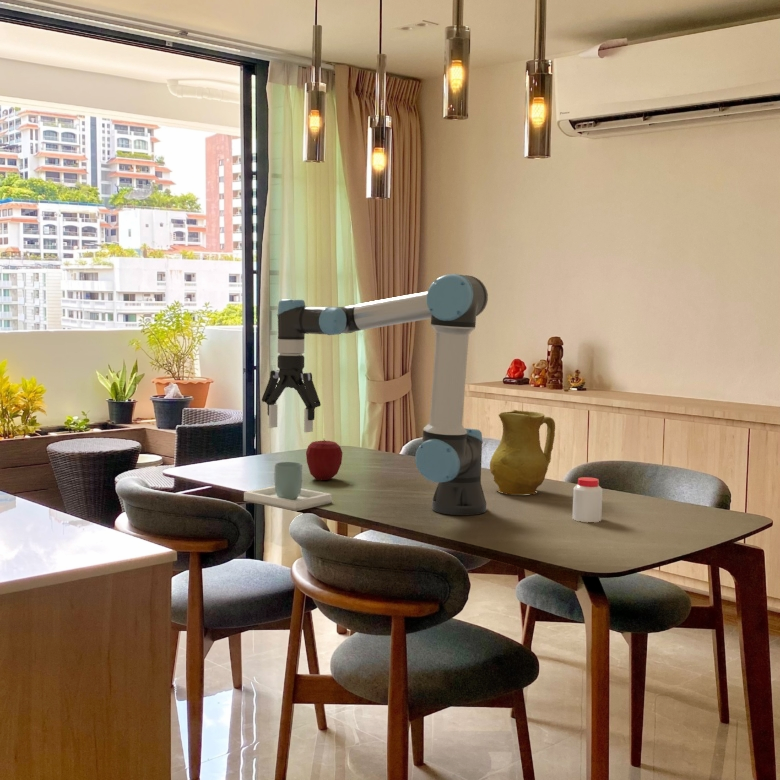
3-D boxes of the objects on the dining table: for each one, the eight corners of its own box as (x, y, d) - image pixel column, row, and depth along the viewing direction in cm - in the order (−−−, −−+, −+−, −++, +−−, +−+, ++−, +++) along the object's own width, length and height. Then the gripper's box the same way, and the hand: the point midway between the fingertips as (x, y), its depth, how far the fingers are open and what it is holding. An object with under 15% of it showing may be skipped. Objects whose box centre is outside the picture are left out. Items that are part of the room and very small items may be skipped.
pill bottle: (595, 524, 259) (597, 482, 258) (567, 519, 263) (569, 479, 262) (605, 518, 266) (607, 478, 264) (578, 514, 270) (580, 475, 269)
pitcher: (490, 483, 310) (497, 405, 307) (550, 490, 306) (557, 411, 303) (484, 495, 293) (491, 413, 290) (547, 502, 290) (554, 419, 286)
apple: (333, 484, 306) (334, 441, 305) (299, 481, 310) (299, 439, 308) (347, 477, 317) (348, 436, 316) (314, 474, 321) (314, 434, 320)
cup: (297, 502, 274) (297, 467, 273) (270, 500, 276) (270, 465, 275) (305, 497, 282) (305, 462, 281) (279, 495, 283) (279, 461, 282)
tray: (331, 502, 278) (331, 494, 278) (295, 511, 267) (295, 502, 266) (280, 493, 291) (280, 484, 290) (243, 500, 279) (244, 492, 278)
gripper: (333, 356, 270) (332, 432, 272) (268, 352, 285) (268, 424, 287) (315, 357, 264) (314, 435, 266) (249, 352, 279) (249, 426, 281)
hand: (290, 429), depth 277 cm, fingers open, 13 cm apart
